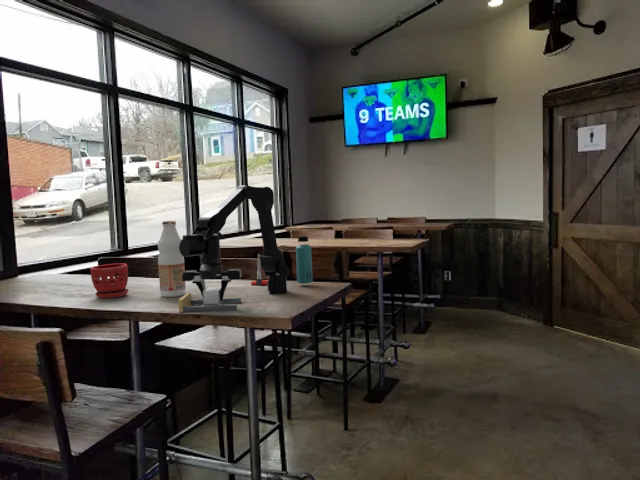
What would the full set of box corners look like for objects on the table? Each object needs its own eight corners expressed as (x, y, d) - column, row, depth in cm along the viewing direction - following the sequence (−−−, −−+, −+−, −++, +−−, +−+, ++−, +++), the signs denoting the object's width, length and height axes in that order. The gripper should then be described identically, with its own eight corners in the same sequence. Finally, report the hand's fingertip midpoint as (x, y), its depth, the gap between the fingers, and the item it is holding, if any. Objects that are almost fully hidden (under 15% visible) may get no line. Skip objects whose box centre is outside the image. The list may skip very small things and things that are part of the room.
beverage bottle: (307, 287, 196) (305, 236, 195) (293, 286, 200) (291, 236, 198) (316, 285, 202) (314, 235, 200) (302, 284, 205) (300, 235, 204)
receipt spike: (255, 282, 215) (248, 285, 206) (254, 252, 215) (248, 254, 206) (274, 282, 214) (268, 285, 205) (273, 252, 214) (268, 254, 205)
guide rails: (241, 302, 172) (240, 290, 172) (236, 309, 160) (235, 297, 160) (187, 304, 172) (187, 292, 172) (179, 312, 159) (178, 299, 159)
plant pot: (112, 292, 200) (110, 262, 199) (136, 294, 194) (135, 263, 193) (84, 298, 189) (82, 267, 188) (109, 300, 183) (107, 268, 182)
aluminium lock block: (223, 301, 169) (222, 286, 169) (219, 305, 162) (218, 290, 162) (208, 301, 169) (207, 287, 169) (203, 306, 162) (203, 291, 162)
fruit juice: (157, 297, 185) (152, 222, 183) (164, 293, 195) (159, 221, 193) (182, 296, 186) (178, 221, 183) (188, 292, 195) (184, 220, 193)
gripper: (176, 257, 156) (179, 306, 157) (236, 255, 157) (238, 304, 158) (184, 253, 167) (187, 300, 168) (240, 251, 168) (242, 297, 169)
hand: (213, 300), depth 166 cm, fingers closed on aluminium lock block, 5 cm apart
